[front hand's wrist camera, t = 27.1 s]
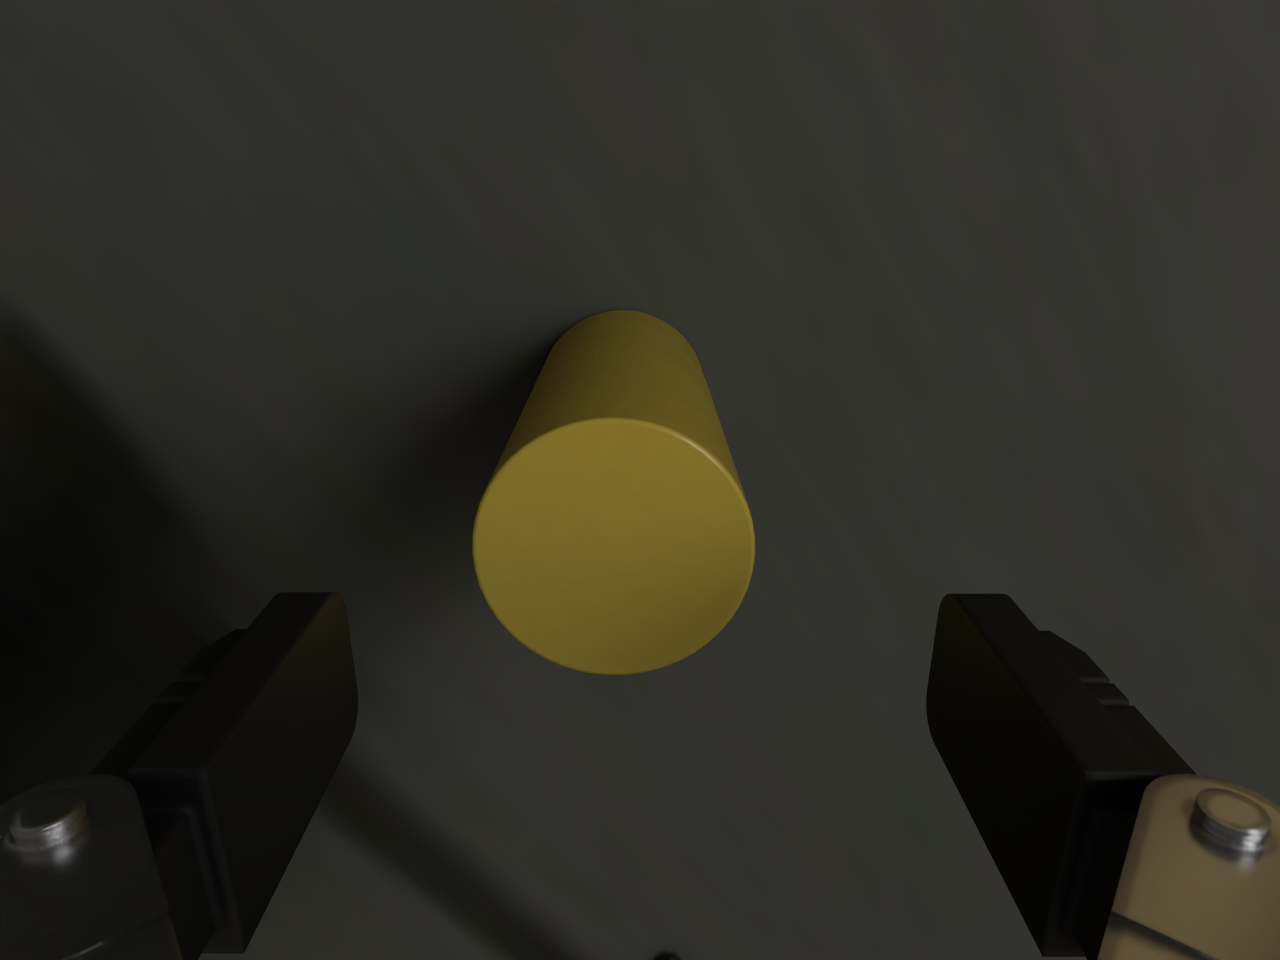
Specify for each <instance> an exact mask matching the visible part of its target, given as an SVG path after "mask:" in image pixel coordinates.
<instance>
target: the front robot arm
mask: <svg viewBox="0 0 1280 960" xmlns="http://www.w3.org/2000/svg"><path fill="white" fill-rule="evenodd" d="M926 709H927V719H928V725H929V729H930V733H931V736H932V739H933V741H934V744H935V746H936V748H937V750H938V752H939V754H940V756H941V757H942V759H943V761H944V763H945V765H946V767H947V769H948V771H949V773H950V775H951V777H952V779H953V781H954V783H955V785H956V787H957V789H958V791H959V793H960V795H961V797H962V799H963V801H964V803H965V805H966V807H967V809H968V811H969V813H970V815H971V816H972V818H973V820H974V822H975V824H976V826H977V828H978V830H979V832H980V834H981V836H982V838H983V840H984V842H985V844H986V846H987V848H988V850H989V852H990V854H991V856H992V858H993V860H994V862H995V864H996V866H997V868H998V870H999V872H1000V874H1001V875H1002V877H1003V879H1004V881H1005V883H1006V885H1007V887H1008V889H1009V891H1010V893H1011V895H1012V897H1013V899H1014V901H1015V903H1016V905H1017V907H1018V909H1019V911H1020V913H1021V915H1022V917H1023V919H1024V921H1025V923H1026V925H1027V927H1028V929H1029V931H1030V933H1031V934H1032V936H1033V938H1034V940H1035V942H1036V944H1037V946H1038V948H1039V950H1040V952H1041V954H1042V956H1043V957H1086V958H1087V960H1280V806H1279V805H1277V804H1276V803H1274V802H1272V801H1271V800H1269V799H1267V798H1265V797H1264V796H1262V795H1260V794H1258V793H1255V792H1253V791H1251V790H1249V789H1247V788H1244V787H1242V786H1239V785H1237V784H1234V783H1231V782H1228V781H1224V780H1221V779H1217V778H1213V777H1208V776H1203V775H1197V774H1196V773H1195V772H1194V771H1193V770H1192V769H1191V768H1190V767H1189V766H1188V765H1187V763H1186V762H1185V761H1184V760H1183V759H1182V758H1181V757H1180V756H1179V755H1178V754H1177V753H1176V751H1175V750H1174V749H1173V748H1172V747H1171V746H1170V745H1169V744H1168V743H1167V742H1166V740H1165V739H1164V738H1163V737H1162V736H1161V735H1160V734H1159V733H1158V732H1157V731H1156V730H1155V728H1154V727H1153V726H1152V725H1151V724H1150V723H1149V722H1148V721H1147V720H1146V719H1145V717H1144V716H1143V715H1142V714H1141V713H1140V712H1139V711H1138V710H1137V709H1136V708H1135V707H1134V706H1129V700H1128V699H1127V698H1126V697H1125V696H1124V694H1123V693H1122V692H1121V691H1120V690H1119V689H1118V688H1117V687H1116V686H1115V685H1114V684H1110V683H1109V678H1108V677H1107V676H1106V675H1105V674H1104V673H1103V671H1102V670H1101V669H1100V668H1099V667H1098V666H1097V665H1096V664H1095V663H1094V662H1093V660H1092V659H1091V658H1090V657H1089V656H1088V655H1087V654H1086V653H1085V652H1083V651H1082V650H1080V649H1078V648H1077V647H1075V646H1073V645H1072V644H1070V643H1069V642H1067V641H1065V640H1064V639H1062V638H1060V637H1059V636H1057V635H1055V634H1054V633H1052V632H1051V631H1038V629H1037V628H1036V627H1035V626H1034V625H1033V623H1032V622H1031V621H1030V620H1029V619H1028V618H1027V616H1026V615H1025V614H1024V613H1023V612H1022V611H1021V609H1020V608H1019V607H1018V606H1017V605H1016V604H1015V602H1014V601H1013V600H1012V599H1011V598H1010V597H1009V596H1008V595H1006V594H947V595H946V596H944V598H943V599H942V602H941V604H940V607H939V612H938V619H937V626H936V632H935V639H934V646H933V653H932V660H931V667H930V674H929V681H928V688H927V697H926ZM357 711H358V692H357V684H356V677H355V670H354V663H353V656H352V649H351V642H350V635H349V628H348V621H347V614H346V608H345V604H344V601H343V599H342V597H341V596H340V595H339V594H338V593H336V592H282V593H279V594H277V595H276V596H275V597H274V598H273V599H272V600H271V601H270V602H269V603H268V605H267V606H266V607H265V608H264V609H263V611H262V612H261V613H260V614H259V615H258V616H257V618H256V619H255V620H254V621H253V622H252V624H251V625H250V626H249V627H248V628H247V629H235V630H234V631H232V632H231V633H229V634H227V635H226V636H224V637H222V638H221V639H219V640H217V641H216V642H214V643H213V644H211V645H209V646H208V647H206V648H204V649H203V650H201V651H200V652H199V653H198V654H197V655H196V656H195V657H194V658H193V659H192V661H191V662H190V663H189V664H188V665H187V666H186V667H185V668H184V669H183V670H182V672H181V673H180V674H179V675H178V676H177V681H176V682H172V683H171V684H170V685H169V686H168V687H167V688H166V689H165V690H164V692H163V693H162V694H161V695H160V696H159V697H158V701H157V704H152V705H151V706H150V707H149V708H148V709H147V710H146V711H145V713H144V714H143V715H142V716H141V717H140V718H139V719H138V720H137V721H136V722H135V724H134V725H133V726H132V727H131V728H130V729H129V730H128V731H127V732H126V734H125V735H124V736H123V737H122V738H121V739H120V740H119V741H118V742H117V743H116V745H115V746H114V747H113V748H112V749H111V750H110V751H109V752H108V753H107V755H106V756H105V757H104V758H103V759H102V760H101V761H100V762H99V763H98V765H97V766H96V767H95V768H94V769H93V770H92V771H91V772H90V773H89V774H85V775H77V776H72V777H67V778H63V779H59V780H56V781H52V782H49V783H46V784H43V785H41V786H38V787H36V788H33V789H31V790H29V791H27V792H25V793H22V794H20V795H18V796H16V797H15V798H13V799H11V800H9V801H8V802H6V803H4V804H3V805H1V806H0V960H198V958H199V957H200V955H201V953H244V952H245V950H246V948H247V946H248V944H249V942H250V940H251V938H252V936H253V934H254V932H255V930H256V928H257V926H258V924H259V922H260V920H261V918H262V916H263V914H264V912H265V910H266V908H267V906H268V904H269V902H270V900H271V898H272V896H273V894H274V892H275V890H276V888H277V886H278V884H279V882H280V880H281V878H282V876H283V874H284V872H285V870H286V868H287V866H288V864H289V862H290V860H291V858H292V856H293V854H294V852H295V850H296V848H297V846H298V844H299V842H300V840H301V838H302V836H303V834H304V832H305V830H306V828H307V826H308V824H309V822H310V821H311V819H312V817H313V815H314V813H315V811H316V809H317V807H318V805H319V803H320V801H321V799H322V797H323V795H324V793H325V791H326V789H327V787H328V785H329V783H330V781H331V779H332V777H333V775H334V773H335V771H336V769H337V767H338V765H339V763H340V761H341V759H342V757H343V755H344V753H345V751H346V749H347V747H348V745H349V743H350V741H351V738H352V736H353V733H354V729H355V725H356V719H357ZM668 960H681V959H680V958H678V957H675V956H673V957H670V958H669V959H668Z"/></svg>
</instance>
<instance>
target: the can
mask: <svg viewBox="0 0 1280 960" xmlns="http://www.w3.org/2000/svg"><path fill="white" fill-rule="evenodd" d="M472 555H473V563H474V569H475V573H476V576H477V580H478V583H479V586H480V588H481V591H482V593H483V595H484V597H485V600H486V601H487V603H488V605H489V606H490V608H491V610H492V611H493V613H494V615H495V616H496V617H497V619H498V620H499V621H500V622H501V623H502V625H503V626H504V627H505V628H506V629H507V630H508V631H509V632H510V633H511V634H512V635H513V636H514V637H515V638H516V639H517V640H518V641H519V642H521V643H522V644H523V645H525V646H526V647H527V648H529V649H530V650H532V651H533V652H535V653H537V654H538V655H540V656H542V657H544V658H545V659H547V660H550V661H552V662H554V663H557V664H559V665H561V666H564V667H568V668H571V669H574V670H578V671H582V672H588V673H594V674H605V675H625V674H635V673H641V672H647V671H651V670H655V669H658V668H662V667H665V666H668V665H670V664H672V663H675V662H677V661H680V660H682V659H684V658H685V657H687V656H689V655H691V654H692V653H694V652H696V651H697V650H699V649H700V648H701V647H703V646H704V645H705V644H707V643H708V642H709V641H711V640H712V639H713V638H714V637H715V636H716V635H717V634H718V633H719V632H720V631H721V630H722V629H723V628H724V626H725V625H726V624H727V623H728V622H729V620H730V619H731V618H732V617H733V615H734V613H735V612H736V610H737V609H738V607H739V605H740V604H741V602H742V600H743V598H744V595H745V593H746V591H747V589H748V586H749V583H750V579H751V576H752V572H753V566H754V559H755V534H754V527H753V521H752V517H751V514H750V511H749V507H748V504H747V501H746V498H745V495H744V492H743V489H742V486H741V483H740V480H739V477H738V474H737V472H736V469H735V466H734V463H733V460H732V457H731V454H730V451H729V448H728V445H727V442H726V439H725V436H724V433H723V430H722V427H721V424H720V421H719V418H718V415H717V412H716V409H715V406H714V403H713V401H712V398H711V395H710V392H709V389H708V386H707V383H706V380H705V377H704V374H703V371H702V368H701V365H700V362H699V360H698V358H697V356H696V354H695V352H694V350H693V349H692V347H691V346H690V344H689V343H688V342H687V340H686V339H685V338H684V337H683V336H682V335H681V334H680V333H679V332H678V331H677V330H676V329H675V328H673V327H672V326H670V325H669V324H667V323H666V322H664V321H662V320H660V319H658V318H656V317H654V316H651V315H648V314H646V313H641V312H637V311H628V310H616V311H608V312H603V313H599V314H596V315H593V316H590V317H588V318H586V319H584V320H582V321H580V322H578V323H577V324H575V325H574V326H572V327H571V328H570V329H569V330H568V331H567V332H565V333H564V334H563V335H562V336H561V338H560V339H559V340H558V341H557V342H556V344H555V345H554V347H553V348H552V350H551V351H550V353H549V355H548V357H547V360H546V362H545V364H544V366H543V368H542V370H541V372H540V374H539V377H538V379H537V381H536V383H535V385H534V387H533V389H532V392H531V394H530V396H529V398H528V400H527V402H526V404H525V406H524V409H523V411H522V413H521V415H520V417H519V419H518V421H517V424H516V426H515V428H514V430H513V432H512V434H511V436H510V439H509V441H508V443H507V445H506V447H505V449H504V451H503V453H502V456H501V458H500V460H499V462H498V464H497V466H496V468H495V471H494V473H493V475H492V477H491V479H490V481H489V483H488V485H487V488H486V490H485V492H484V494H483V496H482V498H481V500H480V503H479V506H478V509H477V513H476V516H475V520H474V527H473V533H472Z"/></svg>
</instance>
